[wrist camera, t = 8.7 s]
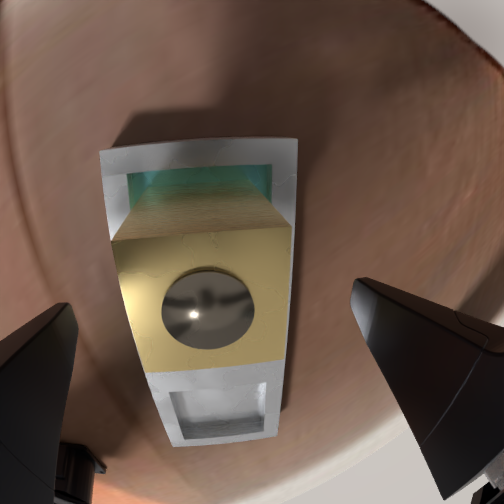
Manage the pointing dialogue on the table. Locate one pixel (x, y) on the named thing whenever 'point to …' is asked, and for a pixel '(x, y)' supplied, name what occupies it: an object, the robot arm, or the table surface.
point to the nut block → (205, 276)
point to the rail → (284, 200)
